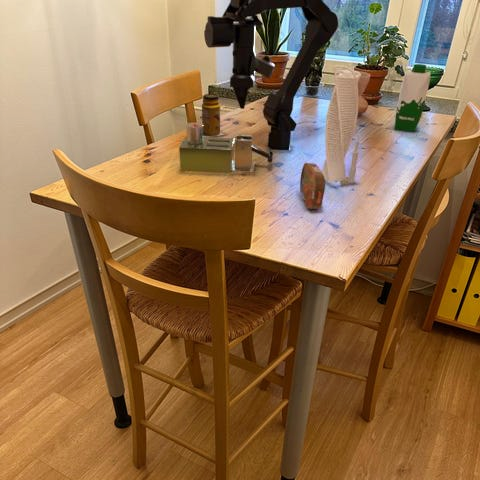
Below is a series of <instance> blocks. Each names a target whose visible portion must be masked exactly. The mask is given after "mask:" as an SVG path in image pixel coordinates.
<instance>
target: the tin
mask: <svg viewBox="0 0 480 480" xmlns="http://www.w3.org/2000/svg"><path fill="white" fill-rule="evenodd" d="M321 171H322V169H320V168H319V166H318V165H317V163H312V162H305V163H304V164H303V166H302V169H301V173H300V180H299V181H300V182H299V193H301V194H302V195H303V197H304V199H302V200H303V203H304V205H305V207H306V209H307V210H319V209H320V208H321V207H322V205H323V200H324V196H325V191H326V180H325V178H324V175H323V174H322V172H321Z"/></svg>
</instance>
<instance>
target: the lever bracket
mask: <svg viewBox="0 0 480 480" xmlns="http://www.w3.org/2000/svg"><path fill="white" fill-rule="evenodd" d="M241 137H243V138H245V139H241ZM253 137H254V136H253V135H252V134H236V138H235V148H234V163H233V167H232V172H231V173H237V174H238V173H239V174H254V170H255V164H256V162H255V161H253V151H252V146H253V140H254V138H253Z"/></svg>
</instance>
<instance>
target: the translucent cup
mask: <svg viewBox="0 0 480 480" xmlns="http://www.w3.org/2000/svg"><path fill="white" fill-rule="evenodd" d="M185 130H186V131H185V133H186V136H187V143H189V144H201V143H203V125H202V122H188V123H187V124H185Z"/></svg>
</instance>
